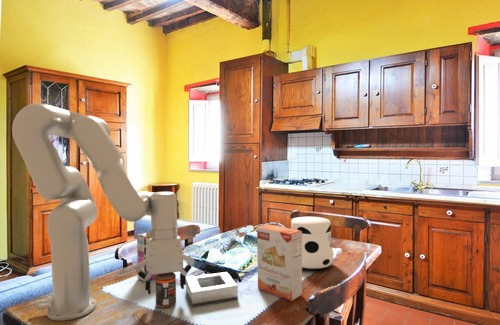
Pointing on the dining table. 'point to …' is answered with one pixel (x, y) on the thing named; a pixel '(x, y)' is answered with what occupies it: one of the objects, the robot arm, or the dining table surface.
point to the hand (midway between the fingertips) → (165, 289)
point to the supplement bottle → (165, 290)
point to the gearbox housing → (211, 289)
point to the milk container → (314, 242)
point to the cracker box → (280, 261)
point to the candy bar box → (143, 253)
